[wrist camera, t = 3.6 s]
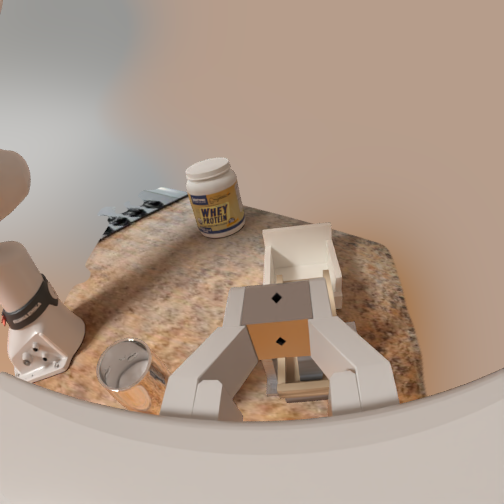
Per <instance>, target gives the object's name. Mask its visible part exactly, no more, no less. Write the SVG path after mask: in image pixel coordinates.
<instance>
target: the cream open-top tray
mask: <svg viewBox="0 0 504 504" xmlns="http://www.w3.org/2000/svg"><path fill="white" fill-rule="evenodd" d="M262 233H263V238H264V244H265V260H264V281H263V285H267V284H277V281H276V275H282V276H283V281H290V280H300V279H309V278H318V277H323V270H329V274H330V279H331V285H332V291H333V296H334V302H335V308H336V309H342V297H343V295H342V275H341V271H340V267H339V264H338V260H337V256H336V253H335V249H334V246H333V242H332V232H331V223H330V222H328V223H319V224H309V225H300V226H291V227H283V228H274V229H265V230H263V232H262Z"/></svg>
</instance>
